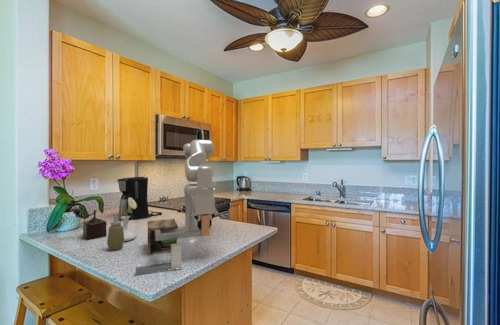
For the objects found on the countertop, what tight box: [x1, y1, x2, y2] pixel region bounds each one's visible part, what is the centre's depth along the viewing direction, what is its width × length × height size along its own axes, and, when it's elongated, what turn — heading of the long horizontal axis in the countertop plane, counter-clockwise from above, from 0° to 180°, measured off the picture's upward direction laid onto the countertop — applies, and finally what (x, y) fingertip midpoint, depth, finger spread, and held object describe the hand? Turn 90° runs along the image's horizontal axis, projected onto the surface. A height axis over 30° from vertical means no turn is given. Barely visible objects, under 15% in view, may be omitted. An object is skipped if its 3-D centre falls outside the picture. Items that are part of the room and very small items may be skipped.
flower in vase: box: [121, 197, 137, 242], centre depth 144 cm, size 13×11×25 cm
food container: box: [157, 227, 180, 250], centre depth 131 cm, size 12×6×10 cm, turn 117°
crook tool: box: [155, 214, 211, 241], centre depth 118 cm, size 25×12×10 cm, turn 113°
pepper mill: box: [72, 208, 107, 241], centre depth 147 cm, size 16×11×18 cm
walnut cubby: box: [147, 218, 179, 256], centre depth 130 cm, size 14×17×13 cm
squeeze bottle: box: [106, 214, 125, 251], centre depth 128 cm, size 8×8×18 cm
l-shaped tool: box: [135, 242, 182, 276], centre depth 103 cm, size 18×4×10 cm, turn 113°
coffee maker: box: [116, 176, 163, 221], centre depth 204 cm, size 23×32×34 cm
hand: (204, 227), depth 119 cm, fingers closed on crook tool, 4 cm apart
